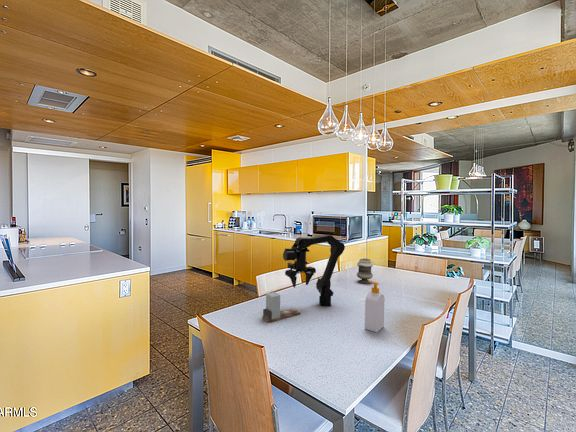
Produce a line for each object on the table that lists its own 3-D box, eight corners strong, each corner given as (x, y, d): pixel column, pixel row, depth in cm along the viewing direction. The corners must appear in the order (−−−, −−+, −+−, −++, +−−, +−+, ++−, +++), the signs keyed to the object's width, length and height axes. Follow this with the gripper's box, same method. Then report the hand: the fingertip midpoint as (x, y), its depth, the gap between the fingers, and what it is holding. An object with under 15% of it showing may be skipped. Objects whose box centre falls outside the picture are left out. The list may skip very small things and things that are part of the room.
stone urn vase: (356, 283, 219) (356, 260, 218) (357, 279, 230) (357, 257, 230) (372, 285, 215) (373, 261, 215) (372, 281, 227) (373, 258, 226)
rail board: (292, 310, 164) (293, 301, 163) (300, 314, 158) (300, 305, 158) (262, 318, 152) (262, 308, 152) (269, 322, 146) (269, 313, 146)
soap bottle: (370, 322, 148) (371, 278, 147) (383, 326, 143) (385, 281, 142) (362, 328, 141) (364, 282, 140) (376, 333, 136) (378, 285, 135)
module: (273, 313, 155) (274, 292, 155) (280, 317, 151) (280, 295, 150) (265, 315, 153) (266, 293, 152) (271, 319, 148) (272, 296, 147)
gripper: (304, 255, 177) (304, 280, 178) (279, 258, 166) (279, 285, 167) (316, 258, 168) (316, 285, 169) (291, 262, 157) (290, 290, 158)
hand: (300, 286), depth 166 cm, fingers open, 9 cm apart
